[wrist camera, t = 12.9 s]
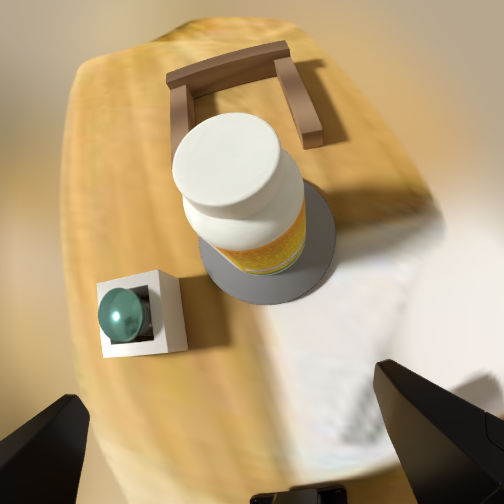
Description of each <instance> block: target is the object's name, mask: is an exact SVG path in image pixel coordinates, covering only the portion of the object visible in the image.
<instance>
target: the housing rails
mask: <svg viewBox="0 0 504 504" xmlns="http://www.w3.org/2000/svg"><path fill="white" fill-rule="evenodd" d="M274 76H277V77H278V79H279V82H280V85H281V87H282V90H283V93H284V95H285V98H286V101H287V103H288V106H289V109H290V111H291V114H292V117H293V120H294V123H295V126H296V128H297V131H298V134H299V137H300V140H301V143H302V146H303V149H309V148H314V147H319V146H323V128H322V126H321V123H320V121H319V118H318V116H317V114H316V111H315V109H314V106H313V104H312V102H311V100H310V97H309V95H308V93H307V91H306V88H305V86H304V84H303V82H302V80H301V77H300V75H299V73H298V71H297V69H296V67H295V65H294V63H293V61H292V59H291V56H290V50H289V47H288V45H287V43H286V41H285V40H283V41H278V42H273V43H268V44H263V45H259V46H254V47H250V48H246V49H242V50H238V51H234V52H231V53H227V54H223V55H220V56H217V57H213V58H210V59H207V60H204V61H200V62H197V63H194V64H192V65H189V66H186V67H183V68H180V69H177V70H175V71H172V72H169V73H167V74H166V84H167V85H168V87H169V89H170V120H171V160H172V166H173V159H174V156H175V153H176V150H177V148H178V146H179V144H180V143H181V141H182V140H183V138H184V137H185V136H186V135H187V134H188V133H189V132H190V131H191V130H192V129H193V128H195V127H196V123H195V111H194V98H197V97H200V96H203V95H206V94H209V93H212V92H216V91H219V90H222V89H226V88H229V87H233V86H237V85H240V84H244V83H248V82H252V81H256V80H260V79H265V78H269V77H274Z"/></svg>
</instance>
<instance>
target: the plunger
mask: <svg viewBox="0 0 504 504" xmlns="http://www.w3.org/2000/svg"><path fill="white" fill-rule="evenodd" d="M98 319H99V324H100V327H101V329H102V331H103V332H104V334H105V335H106V336H107V337H108V338H110V339H111V340H114V341H130V340H132V339H134V338H136V337H137V336H138V335H146V336H150V335H154V334H153V326H152V318H151V309H150V301H146V300H142V299H140V297H139V296H138V295H137V294H136V293H135V292H133V291H131V290H128V289H124V288H114V289H112V290H110V291H108V292H107V293H106V294H105V295H104V297H103V298H102V300H101V302H100V305H99V310H98Z"/></svg>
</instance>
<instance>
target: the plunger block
mask: <svg viewBox="0 0 504 504" xmlns="http://www.w3.org/2000/svg"><path fill="white" fill-rule="evenodd" d="M114 288H124V289H128V290H131V291H133V292H135V293H136V294H137V295H138V296H139V297H144V296H149V299H150V309H151V318H152V326H153V334H154V341H146V342H136V343H135V338H134V339H132V340H130V341H114V340H111V339H110V338H108V337H107V336H106V335H105V334H104V332H103V331H102V329H101V327H100V333H101V342H102V350H103V358H106V357H123V356H137V355H149V354H160V353H169V352H178V351H186V350H189V349H188V343H187V336H186V330H185V323H184V316H183V308H182V300H181V292H180V284H179V278H177V277H175V276H172V275H170V274H168V273H165V272H163V271H161V270H158V269H157V270H153V271H149V272H145V273H140V274H136V275H132V276H127V277H123V278H119V279H114V280H110V281H106V282H102V283H97V295H98V310H99V305H100V302H101V300H102V298H103V297H104V295H105V294H106V293H107V292H108V291H110V290H112V289H114Z"/></svg>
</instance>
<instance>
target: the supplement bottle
mask: <svg viewBox="0 0 504 504" xmlns="http://www.w3.org/2000/svg"><path fill="white" fill-rule="evenodd" d="M172 170H173V177H174V181H175V183H176V185H177V187H178V189H179V190H180V192H181V193H182V194H183V206H184V210H185V214H186V217H187V219H188V221H189V223H190V225H191V226H192V228H193V229H194V230H195V231H196V233H197V234H198V235H199V236H200V237H201V238H202V239H204V240H205V241H206V242H207V243H208V244H210V245H211V246H212V247H213V248H214V249H215V250H217V251H218V252H219V253H220V254H221V255H222V256H223V257H225V258H226V259H227V260H228V261H229V262H230V263H231V264H233V265H234V266H235V267H236V268H238V269H239V270H241V271H243V272H245V273H248V274H251V275H255V276H267V275H273V274H276V273H279V272H282V271H284V270H285V269H287V268H288V267H290V266H291V265H292V264H293V263H294V262H295V261H296V260H297V259H298V257H299V256H300V254H301V253H302V251H303V248H304V245H305V240H306V216H305V196H304V183H303V179H302V175H301V172H300V169H299V167H298V165H297V164H296V162H295V160H294V159H293V158H292V157H291V155H290V154H289V153H288V152H287V151H285V150H284V149H283V148H282V147H281V143H280V140H279V138H278V135H277V134H276V132H275V130H274V129H273V128H272V127H271V126H270V125H269V124H268V123H267V122H266V121H264V120H263V119H261V118H259V117H257V116H254V115H251V114H247V113H238V112H237V113H226V114H220V115H217V116H214V117H211V118H209V119H207V120H205V121H203V122H202V123H200V124H198V125H197V126H196V127H195V128H193V129H192V130H191V131H190V132H189V133H188V134H187V135H186V136H185V137H184V138H183V140H182V141H181V143H180V144H179V146H178V148H177V150H176V153H175V156H174V159H173V166H172Z"/></svg>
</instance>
